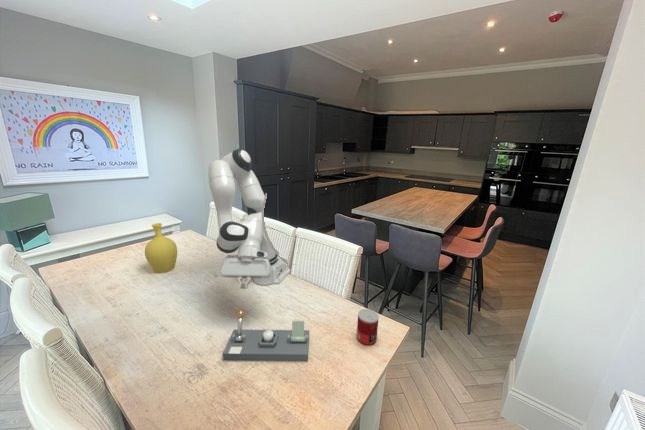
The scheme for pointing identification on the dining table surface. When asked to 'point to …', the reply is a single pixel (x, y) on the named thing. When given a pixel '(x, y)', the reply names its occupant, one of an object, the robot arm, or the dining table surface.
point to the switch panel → (266, 347)
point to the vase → (161, 252)
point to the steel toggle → (239, 326)
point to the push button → (268, 335)
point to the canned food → (367, 326)
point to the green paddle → (297, 331)
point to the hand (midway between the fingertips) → (243, 288)
